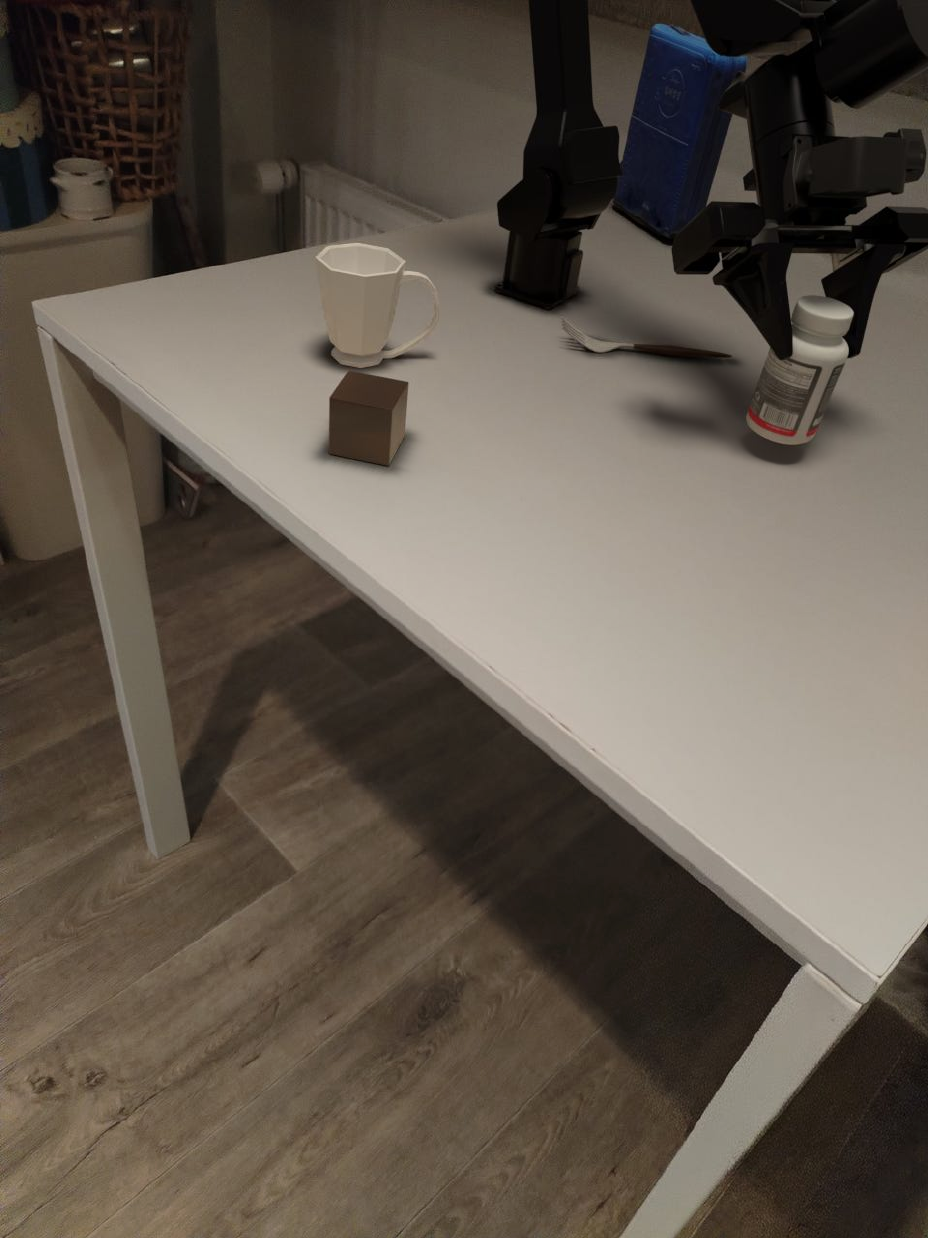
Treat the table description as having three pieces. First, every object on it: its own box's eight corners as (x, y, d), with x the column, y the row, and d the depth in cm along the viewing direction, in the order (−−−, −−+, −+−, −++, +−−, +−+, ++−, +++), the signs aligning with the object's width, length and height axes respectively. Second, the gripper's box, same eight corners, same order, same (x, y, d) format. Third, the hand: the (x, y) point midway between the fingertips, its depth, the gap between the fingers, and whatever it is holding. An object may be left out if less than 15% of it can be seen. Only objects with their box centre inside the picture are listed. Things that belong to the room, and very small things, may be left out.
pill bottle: (786, 408, 73) (833, 289, 66) (827, 443, 69) (881, 321, 63) (730, 413, 71) (773, 291, 65) (769, 449, 67) (818, 324, 61)
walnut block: (328, 454, 63) (328, 397, 61) (347, 424, 67) (348, 369, 64) (388, 466, 63) (392, 409, 60) (404, 436, 66) (408, 381, 64)
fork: (733, 368, 82) (739, 347, 80) (558, 349, 81) (562, 327, 79) (727, 355, 84) (733, 334, 82) (556, 336, 83) (560, 315, 81)
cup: (313, 336, 77) (312, 239, 72) (428, 339, 79) (436, 245, 74) (317, 374, 72) (317, 273, 67) (441, 376, 74) (450, 278, 69)
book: (603, 205, 114) (641, 18, 101) (639, 205, 116) (680, 21, 103) (665, 247, 105) (715, 46, 92) (702, 245, 107) (756, 48, 94)
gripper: (744, 62, 55) (776, 316, 54) (988, 82, 60) (1018, 313, 60) (656, 162, 66) (682, 374, 65) (869, 171, 71) (895, 368, 70)
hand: (819, 357), depth 65 cm, fingers closed on pill bottle, 5 cm apart
